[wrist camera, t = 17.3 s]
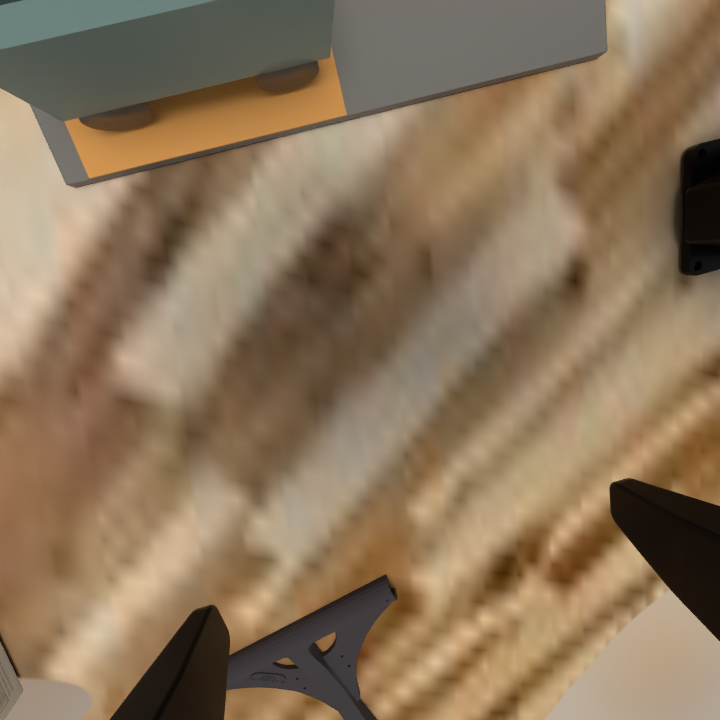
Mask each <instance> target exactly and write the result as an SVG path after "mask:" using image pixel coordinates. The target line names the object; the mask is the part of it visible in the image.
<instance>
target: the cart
mask: <svg viewBox="0 0 720 720" xmlns="http://www.w3.org/2000/svg"><path fill="white" fill-rule="evenodd" d="M334 2H335V0H0V88H1V89H3V90H5V91H7V92H9V93H11V94H13V95H14V96H16V97H18V98H20V99H22V100H24V101H25V102H27V103H29V104H31V105H33V106H35V107H36V108H38V109H40V110H42V111H44V112H46V113H47V114H49V115H51V116H53V117H55V118H57V119H58V120H60V121H62V122H64V121H68V120H72V119H76V118H79V120H80V122H81V123H82V124H84V125H85V126H87V127H90V128H93V129H97V130H104V131H122V130H129V129H134V128H138V127H140V126H143V125H145V124H147V123H148V122H149V121H150V120H151V119H152V117H153V113H152V110H151V107H150V104H149V102H148V101H152V100H156V99H160V98H164V97H168V96H172V95H177V94H181V93H185V92H189V91H193V90H198V89H202V88H206V87H210V86H214V85H219V84H223V83H227V82H231V81H235V80H240V79H244V78H248V77H252V76H254V77H255V80H256V84H257V86H258V87H259V88H260V89H262V90H264V91H267V92H275V93H276V92H287V91H291V90H295V89H298V88H300V87H302V86H304V85H306V84H308V83H309V82H311V81H312V80H313V79H314V78H315V77H316V76H317V74H318V72H319V65H318V61H319V60H323V59H327V58H330V53H331V40H332V28H333V15H334Z"/></svg>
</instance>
